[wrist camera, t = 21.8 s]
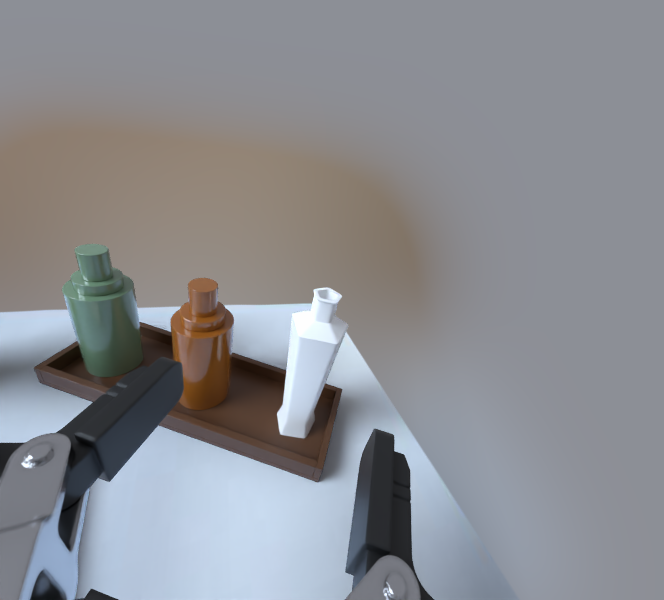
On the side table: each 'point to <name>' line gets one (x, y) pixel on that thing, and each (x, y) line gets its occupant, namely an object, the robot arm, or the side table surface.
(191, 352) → the amber bottle
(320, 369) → the perfume bottle
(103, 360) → the sage bottle
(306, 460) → the tray
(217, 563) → the side table surface
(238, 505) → the side table surface
